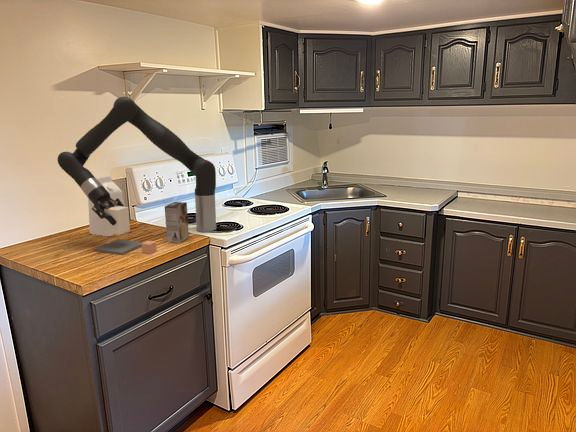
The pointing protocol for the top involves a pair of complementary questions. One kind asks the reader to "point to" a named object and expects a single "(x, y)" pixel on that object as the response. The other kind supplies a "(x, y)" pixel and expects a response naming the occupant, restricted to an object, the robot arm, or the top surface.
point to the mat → (119, 247)
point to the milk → (95, 221)
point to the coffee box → (176, 222)
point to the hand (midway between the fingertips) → (121, 221)
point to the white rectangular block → (118, 220)
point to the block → (148, 247)
